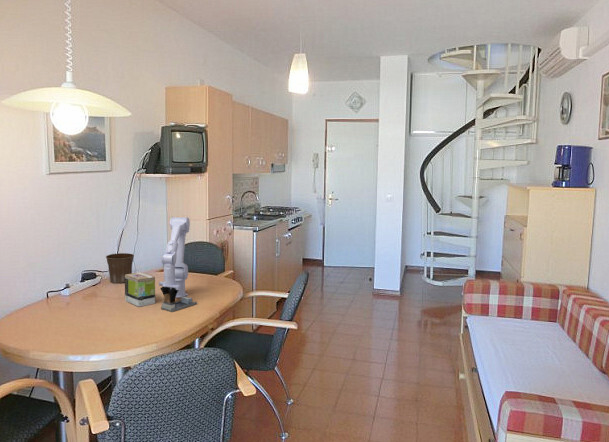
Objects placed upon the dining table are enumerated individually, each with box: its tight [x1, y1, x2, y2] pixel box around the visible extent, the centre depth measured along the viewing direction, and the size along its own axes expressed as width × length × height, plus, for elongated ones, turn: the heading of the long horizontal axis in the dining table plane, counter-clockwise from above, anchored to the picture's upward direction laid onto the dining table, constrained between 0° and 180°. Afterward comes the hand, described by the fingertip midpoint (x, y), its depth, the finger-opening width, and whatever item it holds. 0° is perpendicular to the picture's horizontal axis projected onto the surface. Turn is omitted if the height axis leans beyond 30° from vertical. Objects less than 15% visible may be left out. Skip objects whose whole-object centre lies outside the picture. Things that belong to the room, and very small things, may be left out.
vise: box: [160, 300, 198, 313], centre depth 246 cm, size 8×17×3 cm, turn 146°
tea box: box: [124, 271, 156, 307], centre depth 252 cm, size 15×10×15 cm
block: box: [163, 293, 176, 303], centre depth 251 cm, size 4×4×5 cm
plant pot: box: [105, 252, 135, 285], centre depth 293 cm, size 16×16×16 cm
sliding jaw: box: [180, 296, 193, 304], centre depth 250 cm, size 6×2×3 cm, turn 56°
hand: (169, 300), depth 251 cm, fingers closed on block, 4 cm apart
